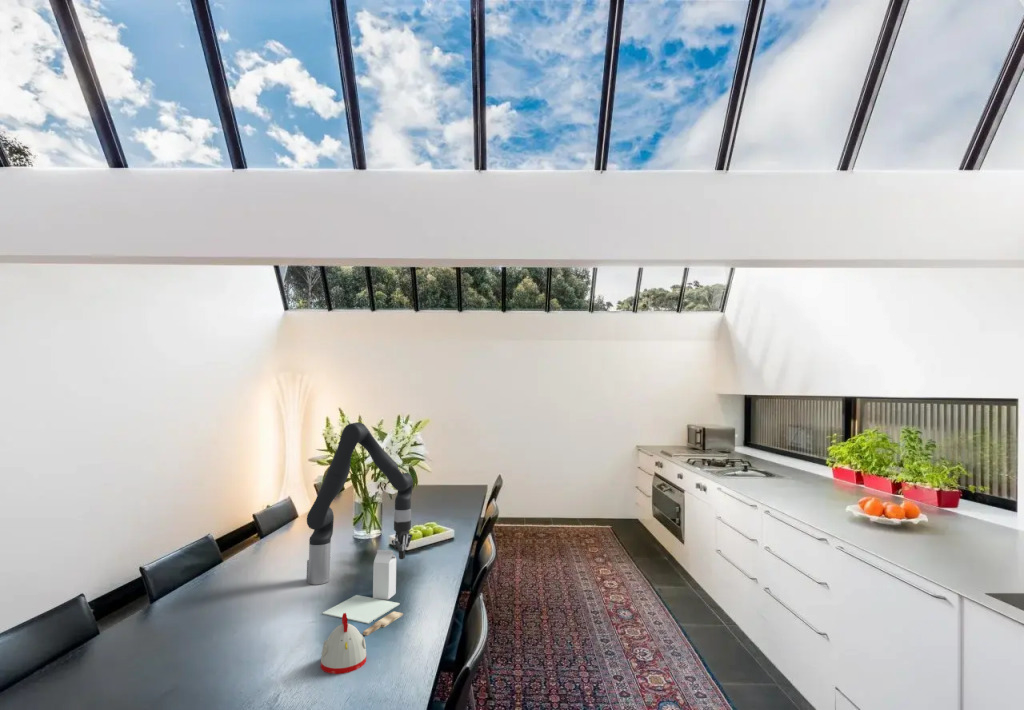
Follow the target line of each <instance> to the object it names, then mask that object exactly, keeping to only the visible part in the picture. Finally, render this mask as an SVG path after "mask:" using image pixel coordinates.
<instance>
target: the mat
mask: <svg viewBox="0 0 1024 710" xmlns="http://www.w3.org/2000/svg"><path fill="white" fill-rule="evenodd" d="M399 605H401V603H400V602H394V601H392V600H385V599H375V598H373V597H370V596H365V595H364V596H363V595H359V594H355V595H353V596H352V597H350V598H348V599H346V600H344V601H342V602H340V603H338V604H337V605H335V606H333V607H330V608H328V609H326V610H325V611H323V612H322V614H321V615H325V616H330V617H336V618H338V619H339V618H341V619H342V617H343V613H346V615H347V621H348V620H349V621H354V622H358V623H363V624H368V625H369V624H370V623H372V622H374V621H375V620H377V619H379V618H380V617H382V616H384V615H385V614H386V613H388V612H390V611H392V610H393V609H395V608H397V607H398V606H399ZM373 620H374V621H373Z"/></svg>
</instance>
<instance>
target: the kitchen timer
mask: <svg viewBox="0 0 1024 710" xmlns="http://www.w3.org/2000/svg"><path fill="white" fill-rule="evenodd" d="M366 662H367V645H366V639H365V637H364V635H363V633H360V631H359V630H358V628H357V627H356V626H354V625H353V624H351V623H348V619H347V615H346V613H343V617H342V618H341V624H339V625H337V626H336V627H335V628H334V629H333V630H332V631H331V633H330V634H329V635H328V637H327V640H324V641H323V645H322V651H321V659H320V669H321V670H322V671H323V672H325V673H329V674H332V675H333V674H335V675H341V674H348V673H351V672H354V671H357V670H358V669H360V668H362V667H363V666H364V665H365V664H366Z"/></svg>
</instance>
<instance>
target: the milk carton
mask: <svg viewBox="0 0 1024 710" xmlns="http://www.w3.org/2000/svg"><path fill="white" fill-rule="evenodd" d="M376 552H377V553H376V555H375V558H374V561H373V567H372V569H373V573H372V574H373V575H372V576H373V577H372V580H373V581H372V598H375V599H380V600H385V601H390V599H391V598H392V597H394V596H395V595H396V592H397V589H396V588H397V557H396V555H395V554H394V551H393V550H388V549H387V550H386V549H377V551H376Z"/></svg>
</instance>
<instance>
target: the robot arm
mask: <svg viewBox="0 0 1024 710" xmlns="http://www.w3.org/2000/svg"><path fill="white" fill-rule="evenodd" d="M358 444H359V445H360V446H361V447H363V448H364V449H365V450H366V452H367V453H368V454H369V456H370V458H371V460H372V462H373V463H374V466H376V467H377V468H378V469H379V470H380V471H381V472H382V474H384V475H385V476H386V479H387V480H388V482H389V483H390V485H391V486H392V488H394V489H395V490H397V494H396V496H395V499H394V513H393V530H394V531H395V535H394V537H395V538H394V540H393V539H392V540H391V544H392V545H393V548H394V549H395V551H398V559H399V560H404V559H406V549H407V548H409V546H410V543H411V540H412V538H413V534H411V533H410V531H411V529H412V508H411V507H412V506H411V503H412V500H411V499H412V494H413V493H412V492H413V486H414V482H413V481H414V480H413V477H412V475H411V474H410V473H408V472H405V473H404V472H401V470H400V469H399V465H398V463H397V462H396V461H395V460H394V459H393V458H392V457H391V456H390V455H389V454H388V453H387V452H386V451H385V450H384V449H383V447H382V446H381V445H380V444H379V443H378V441H377V440H376V438H375V437H374V436H373V434H372V432H371V431H370V430H369V429H368V427H367V425H365V424H364V423H363V422H352V423H349V424H347V425H345V427H344V428H343V430H342V432H341V436H340V438H339V442H338V445H337V448H336V451H335V453H334V456H333V458H332V461H331V462H330V465H329V466H328V469H327V471H326V474H325V477H324V480H323V481H322V484H321V487H320V489H319V491H318V494H317V496H316V498H315V500H314V502H313V504H312V506H310V509H309V511H308V513H307V516H306V524H307V526H308V528H309V529H310V530H313V533H312V534H311V535H310V536H309V540H308V541H309V543H308V544H309V545H308V559H307V561H306V579H305V580H306V583H308V584H309V585H315V586H316V585H317V586H318V585H323V584H327V583H329V582H330V578H331V573H330V572H331V548H332V547H331V544H332V543H331V542H332V536H333V533H334V523H335V522H334V521H335V520H334V519H335V515H334V511H333V509H332V508H331V507H330V506H331V504H332V503H333V501H334V499H336V497H337V495H339V493H340V492H341V491H342V489H343V487H344V486H345V483H346V482H347V478H348V477H349V474H350V471H351V459H352V455H353V453H354V451H355V449H356V447H357V445H358Z"/></svg>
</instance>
